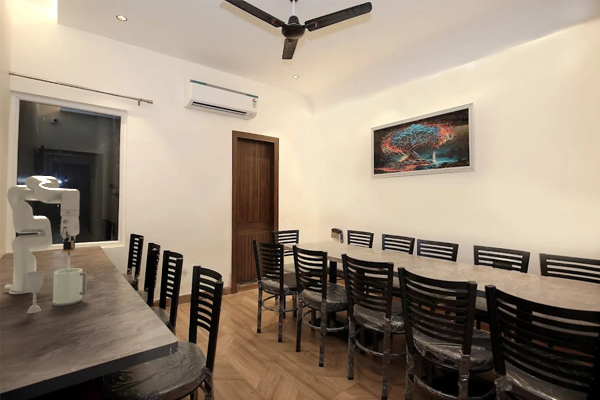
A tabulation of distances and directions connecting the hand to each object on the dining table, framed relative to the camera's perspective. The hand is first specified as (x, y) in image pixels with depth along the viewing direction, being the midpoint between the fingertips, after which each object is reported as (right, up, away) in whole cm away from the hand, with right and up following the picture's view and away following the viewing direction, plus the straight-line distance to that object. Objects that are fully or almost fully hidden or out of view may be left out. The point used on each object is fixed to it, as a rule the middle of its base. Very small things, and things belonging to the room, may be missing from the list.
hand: (69, 248), depth 152 cm
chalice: (-6, -27, -13) cm, 31 cm away
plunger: (0, -17, 0) cm, 17 cm away
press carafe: (0, -27, 0) cm, 27 cm away
